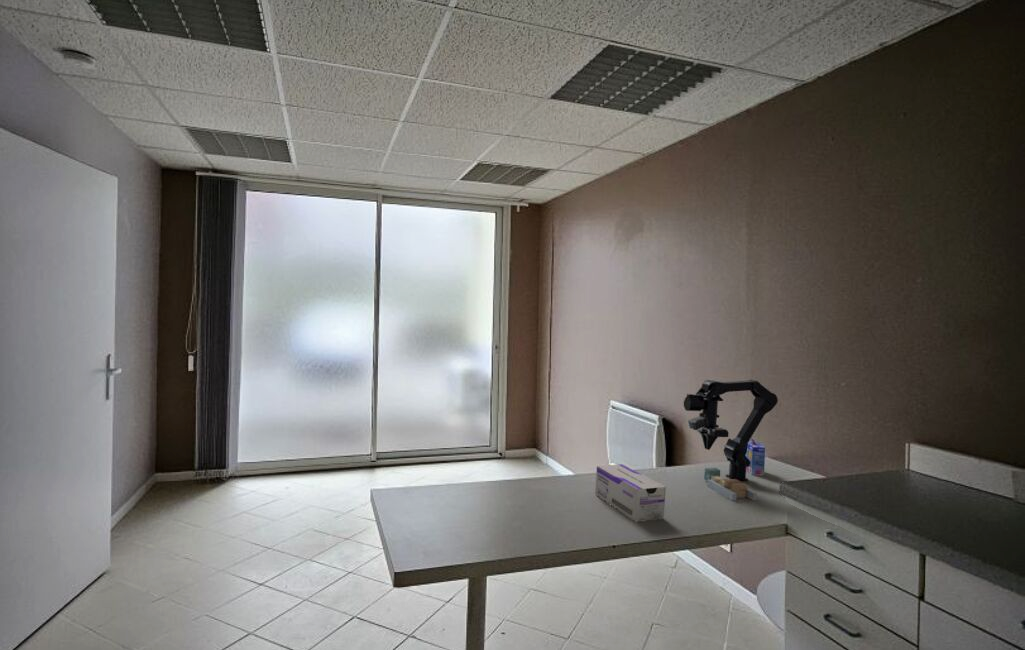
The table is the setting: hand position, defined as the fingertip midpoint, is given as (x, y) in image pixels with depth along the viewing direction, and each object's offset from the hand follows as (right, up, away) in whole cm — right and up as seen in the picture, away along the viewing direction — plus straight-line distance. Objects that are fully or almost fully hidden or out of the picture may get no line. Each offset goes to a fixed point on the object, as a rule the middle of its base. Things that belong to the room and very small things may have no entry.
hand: (707, 449), depth 218 cm
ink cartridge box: (+25, -13, +13) cm, 31 cm away
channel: (+3, -13, -16) cm, 21 cm away
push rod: (+1, -12, -9) cm, 15 cm away
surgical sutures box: (-40, -11, -36) cm, 56 cm away
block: (+4, -13, -18) cm, 23 cm away
